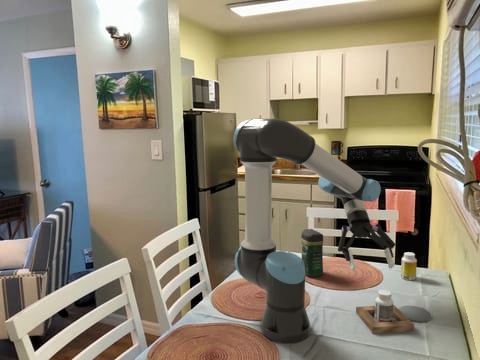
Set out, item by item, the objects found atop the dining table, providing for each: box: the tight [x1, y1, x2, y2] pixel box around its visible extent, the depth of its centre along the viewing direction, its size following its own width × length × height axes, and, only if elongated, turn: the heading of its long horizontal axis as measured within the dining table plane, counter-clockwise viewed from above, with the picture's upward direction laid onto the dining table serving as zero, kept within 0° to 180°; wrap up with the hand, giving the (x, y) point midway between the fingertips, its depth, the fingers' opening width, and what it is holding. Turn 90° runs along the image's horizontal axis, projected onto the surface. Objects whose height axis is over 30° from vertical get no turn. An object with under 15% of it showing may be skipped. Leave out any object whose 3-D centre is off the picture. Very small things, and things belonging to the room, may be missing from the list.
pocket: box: [355, 304, 415, 334], centre depth 123 cm, size 13×13×2 cm
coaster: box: [398, 305, 432, 323], centre depth 127 cm, size 10×10×1 cm
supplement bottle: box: [400, 251, 418, 281], centre depth 155 cm, size 6×6×10 cm
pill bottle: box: [374, 289, 394, 323], centre depth 122 cm, size 5×5×10 cm
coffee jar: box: [300, 228, 324, 278], centre depth 161 cm, size 10×8×19 cm
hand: (372, 268), depth 131 cm, fingers open, 13 cm apart
